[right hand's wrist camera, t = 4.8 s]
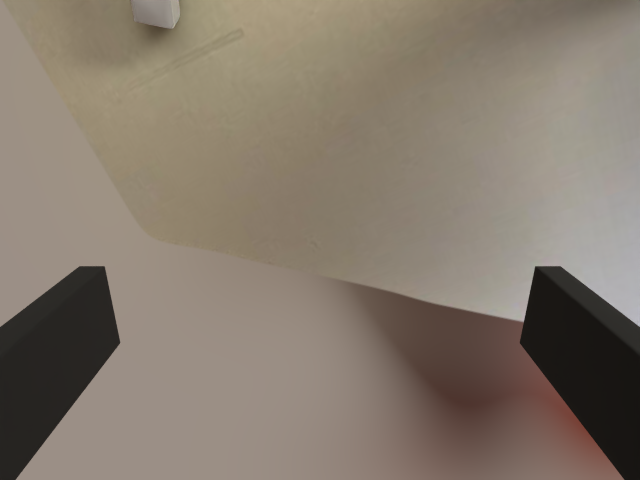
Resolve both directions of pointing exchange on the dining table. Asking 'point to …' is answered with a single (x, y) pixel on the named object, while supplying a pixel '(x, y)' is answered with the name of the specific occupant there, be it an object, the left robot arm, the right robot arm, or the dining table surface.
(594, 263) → the dining table surface
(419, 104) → the dining table surface
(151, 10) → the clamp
